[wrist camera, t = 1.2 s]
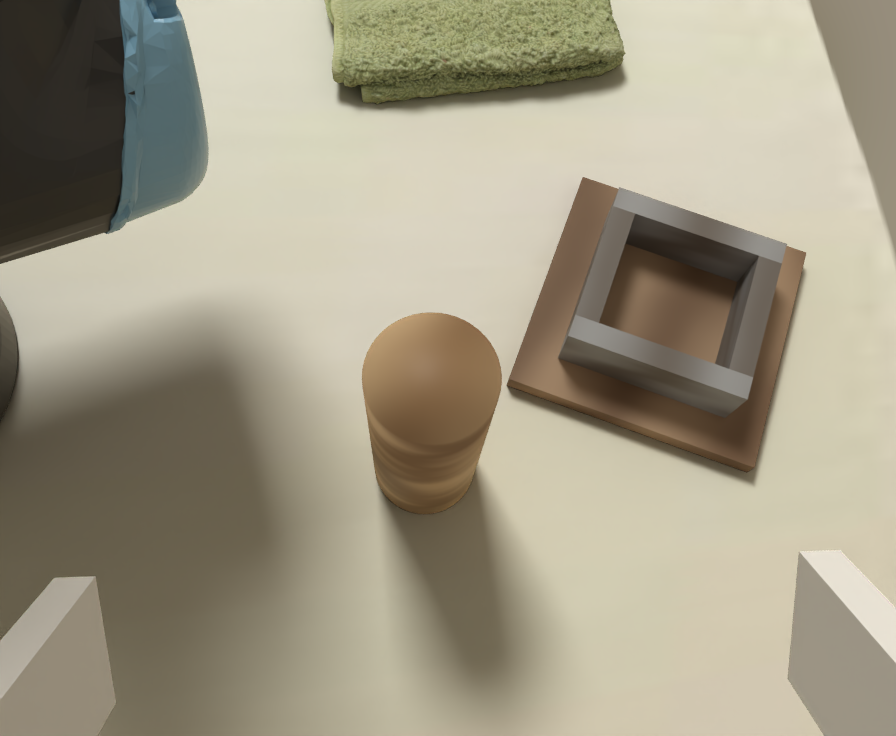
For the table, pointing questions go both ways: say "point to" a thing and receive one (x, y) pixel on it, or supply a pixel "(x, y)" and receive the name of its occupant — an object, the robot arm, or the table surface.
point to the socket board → (662, 323)
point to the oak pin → (429, 408)
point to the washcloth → (468, 44)
